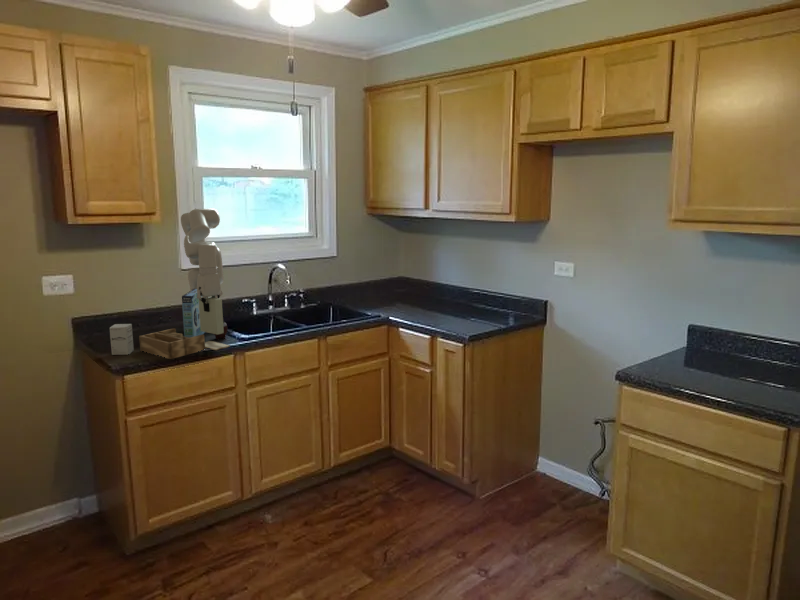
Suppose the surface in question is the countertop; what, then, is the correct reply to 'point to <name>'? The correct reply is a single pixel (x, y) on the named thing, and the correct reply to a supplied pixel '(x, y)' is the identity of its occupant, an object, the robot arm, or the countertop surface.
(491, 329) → the countertop surface
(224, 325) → the mate gourd
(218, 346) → the cork board
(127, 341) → the supplement box
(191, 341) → the oak rack
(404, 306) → the countertop surface
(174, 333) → the offcut pine
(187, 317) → the gum box
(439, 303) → the countertop surface
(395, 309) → the countertop surface
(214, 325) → the sage panel
